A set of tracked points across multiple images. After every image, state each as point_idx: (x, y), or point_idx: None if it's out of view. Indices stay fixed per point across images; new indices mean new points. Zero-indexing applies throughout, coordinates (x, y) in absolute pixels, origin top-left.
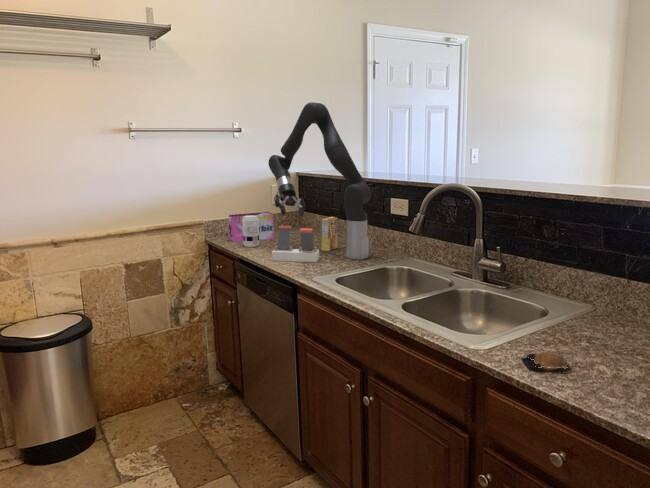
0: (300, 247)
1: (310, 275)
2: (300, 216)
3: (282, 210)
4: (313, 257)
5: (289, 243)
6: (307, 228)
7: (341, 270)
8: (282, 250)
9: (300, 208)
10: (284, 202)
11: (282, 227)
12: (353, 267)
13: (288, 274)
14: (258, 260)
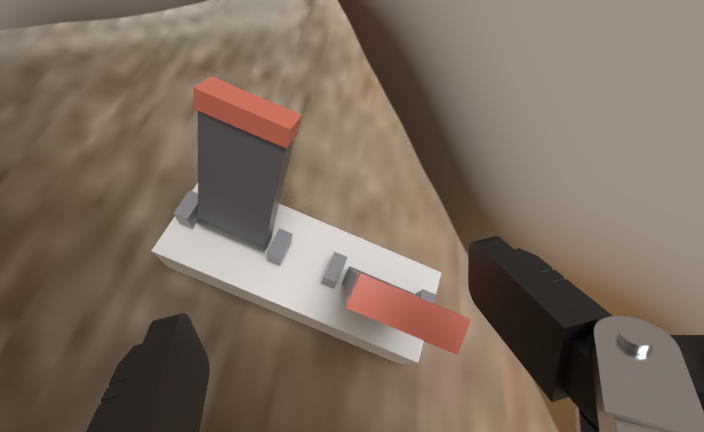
0: (282, 229)
1: (302, 43)
2: (202, 359)
3: (533, 256)
4: None
5: (345, 280)
6: (235, 103)
7: (163, 54)
8: None
9: (139, 426)
10: (637, 426)
11: (428, 301)
12: (86, 71)
13: (373, 76)
14: None
